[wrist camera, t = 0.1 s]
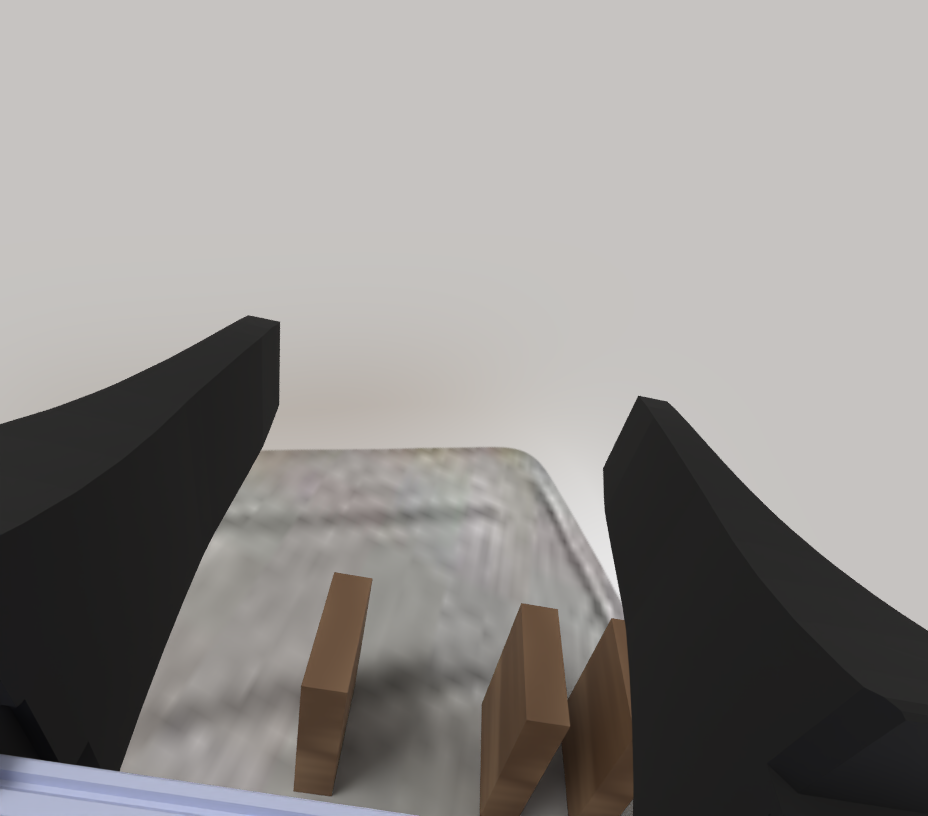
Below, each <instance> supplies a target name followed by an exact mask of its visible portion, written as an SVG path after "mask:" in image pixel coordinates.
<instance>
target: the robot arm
mask: <svg viewBox="0 0 928 816" xmlns="http://www.w3.org/2000/svg"><path fill="white" fill-rule="evenodd" d="M279 357H280V322H278V321H273V320H268V319H264V318H259V317H254V316H246V317H244V318H242V319H240V320H238V321H236V322H234V323H233V324H231V325H229V326H227V327H225V328H224V329H222V330H220V331H218V332H217V333H215V334H213V335H211V336H209V337H208V338H206V339H204V340H202V341H200V342H199V343H197V344H195V345H193V346H191V347H190V348H188V349H186V350H184V351H182V352H180V353H178V354H176V355H175V356H173V357H171V358H169V359H167V360H165V361H163V362H161V363H159V364H157V365H154V366H152V367H150V368H148V369H146V370H144V371H142V372H140V373H138V374H136V375H134V376H132V377H129V378H127V379H125V380H123V381H121V382H119V383H116V384H114V385H112V386H110V387H107V388H105V389H103V390H100V391H97V392H95V393H93V394H90V395H87V396H85V397H82V398H79V399H77V400H74V401H71V402H69V403H66V404H63V405H61V406H58V407H55V408H52V409H49V410H46V411H43V412H39V413H36V414H33V415H29V416H26V417H23V418H19V419H16V420H13V421H9V422H6V423H3V424H0V816H417V815H411V814H404V813H397V812H390V811H383V810H377V809H370V808H363V807H356V806H350V805H343V804H336V803H329V802H322V801H316V800H309V799H302V798H295V797H288V796H282V795H275V794H268V793H261V792H254V791H248V790H241V789H234V788H227V787H220V786H214V785H207V784H200V783H193V782H187V781H180V780H173V779H166V778H159V777H153V776H146V775H139V774H132V773H125V772H119V771H120V768H121V765H122V762H123V760H124V757H125V754H126V751H127V748H128V745H129V743H130V740H131V737H132V734H133V731H134V729H135V726H136V723H137V720H138V717H139V714H140V712H141V709H142V706H143V703H144V701H145V698H146V696H147V693H148V690H149V688H150V685H151V682H152V680H153V677H154V675H155V672H156V669H157V667H158V664H159V661H160V659H161V656H162V653H163V651H164V648H165V646H166V643H167V641H168V638H169V636H170V633H171V631H172V628H173V626H174V624H175V621H176V619H177V616H178V614H179V611H180V609H181V606H182V604H183V601H184V599H185V597H186V594H187V592H188V589H189V587H190V585H191V582H192V580H193V578H194V575H195V573H196V571H197V568H198V566H199V564H200V561H201V559H202V557H203V555H204V553H205V551H206V549H207V547H208V545H209V543H210V541H211V539H212V537H213V535H214V533H215V531H216V529H217V528H218V526H219V524H220V522H221V521H222V519H223V517H224V515H225V514H226V512H227V510H228V508H229V506H230V505H231V503H232V501H233V499H234V498H235V496H236V494H237V492H238V490H239V489H240V487H241V485H242V483H243V482H244V480H245V478H246V476H247V475H248V473H249V471H250V469H251V467H252V465H253V464H254V462H255V460H256V458H257V456H258V455H259V453H260V451H261V449H262V447H263V445H264V442H265V440H266V438H267V435H268V433H269V430H270V428H271V425H272V422H273V420H274V417H275V414H276V412H277V409H278V406H279V367H280V362H279V361H280V360H279V359H280V358H279ZM603 477H604V505H605V515H606V521H607V526H608V532H609V538H610V543H611V548H612V554H613V559H614V564H615V570H616V575H617V580H618V585H619V591H620V596H621V601H622V606H623V613H624V620H625V627H626V637H627V650H628V663H629V676H630V696H631V715H632V746H633V816H928V631H927V630H926V629H924V628H923V627H921V626H920V625H918V624H916V623H915V622H913V621H912V620H910V619H909V618H907V617H906V616H904V615H902V614H901V613H900V612H898V611H897V610H895V609H894V608H892V607H891V606H889V605H888V604H886V603H885V602H884V601H882V600H881V599H879V598H878V597H876V596H875V595H873V594H872V593H871V592H870V591H868V590H867V589H866V588H864V587H863V586H862V585H860V584H859V583H857V582H856V581H855V580H853V579H852V578H851V577H849V576H848V575H847V574H845V573H844V572H843V571H841V570H840V569H839V568H837V567H836V566H835V565H833V564H832V563H831V562H830V561H829V560H827V559H826V558H825V557H823V556H822V555H821V554H820V553H819V552H817V551H816V550H815V549H814V548H813V547H811V546H810V545H809V544H808V543H807V542H806V541H804V540H803V539H802V538H801V537H800V536H799V535H797V534H796V533H795V532H794V531H793V530H791V529H790V528H789V527H788V526H787V525H786V524H785V523H784V522H783V521H782V520H780V519H779V518H778V517H777V516H776V515H775V514H774V513H773V512H772V511H771V510H770V509H769V508H768V507H767V506H766V505H764V504H763V502H762V501H761V500H760V499H759V498H758V497H757V496H755V495H754V493H752V492H751V491H750V490H749V489H748V487H747V486H746V485H745V484H744V483H742V481H741V480H740V479H739V478H738V477H737V476H736V475H735V474H734V473H733V472H732V471H731V470H730V469H729V468H728V467H727V465H726V464H725V463H724V462H723V461H722V460H721V459H720V458H719V457H718V456H717V454H716V453H715V452H714V451H713V450H712V449H711V448H710V447H709V446H708V445H707V443H706V442H705V441H704V440H703V439H702V438H701V437H700V436H699V434H698V433H697V432H696V431H695V430H694V429H693V428H692V427H691V425H690V424H689V423H688V422H687V421H686V420H685V419H684V418H683V417H682V416H681V415H680V414H679V413H678V412H677V410H675V408H673V407H672V406H671V405H670V404H669V403H668V402H666V401H661V400H657V399H652V398H647V397H641V396H638V398H637V400H636V402H635V404H634V406H633V408H632V410H631V412H630V414H629V416H628V418H627V420H626V422H625V424H624V426H623V428H622V431H621V433H620V435H619V437H618V439H617V441H616V443H615V445H614V447H613V449H612V451H611V453H610V455H609V457H608V459H607V461H606V463H605V466H604V468H603Z"/></svg>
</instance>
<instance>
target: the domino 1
mask: <svg viewBox="0 0 928 816" xmlns="http://www.w3.org/2000/svg"><path fill="white" fill-rule="evenodd" d="M371 584H372V578H366V577H360V576H354V575H348V574H342V573H336V572H334V575H333V579H332V582H331V586H330V589H329V593H328V596H327V599H326V603H325V606H324V610H323V613H322V617H321V620H320V623H319V627H318V630H317V634H316V637H315V641H314V644H313V648H312V651H311V654H310V658H309V661H308V665H307V668H306V672H305V675H304V679H303V682H302V685H301V697H300V711H299V724H298V738H297V752H296V765H295V779H294V791H296V792H303V793H310V794H317V795H325V796H332V792H333V787H334V782H335V777H336V773H337V768H338V763H339V758H340V754H341V749H342V744H343V739H344V735H345V730H346V725H347V720H348V716H349V711H350V706H351V701H352V697H353V692H354V687H355V682H356V676H357V670H358V664H359V657H360V651H361V645H362V639H363V633H364V627H365V621H366V615H367V609H368V603H369V597H370V591H371Z"/></svg>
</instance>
